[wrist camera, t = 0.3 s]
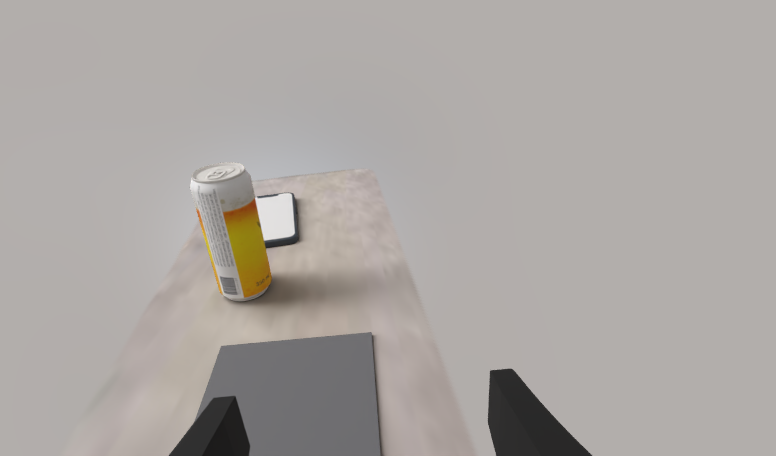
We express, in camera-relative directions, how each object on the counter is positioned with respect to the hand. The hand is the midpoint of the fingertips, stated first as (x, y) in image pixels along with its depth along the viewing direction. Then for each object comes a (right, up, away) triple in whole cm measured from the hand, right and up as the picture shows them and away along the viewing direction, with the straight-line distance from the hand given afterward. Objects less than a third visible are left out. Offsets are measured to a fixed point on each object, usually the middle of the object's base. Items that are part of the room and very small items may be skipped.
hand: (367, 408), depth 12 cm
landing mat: (-8, -11, +23) cm, 26 cm away
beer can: (-16, -2, +40) cm, 43 cm away
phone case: (-18, +6, +55) cm, 59 cm away
